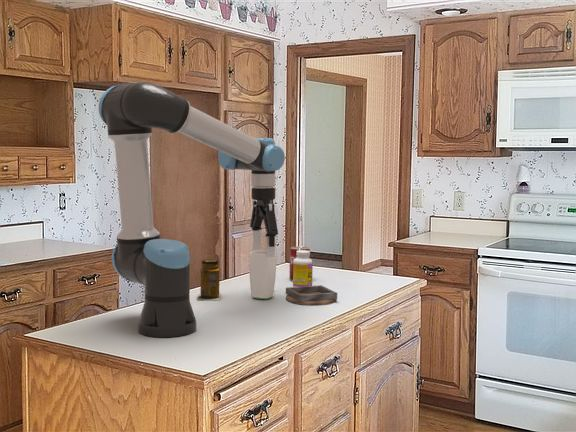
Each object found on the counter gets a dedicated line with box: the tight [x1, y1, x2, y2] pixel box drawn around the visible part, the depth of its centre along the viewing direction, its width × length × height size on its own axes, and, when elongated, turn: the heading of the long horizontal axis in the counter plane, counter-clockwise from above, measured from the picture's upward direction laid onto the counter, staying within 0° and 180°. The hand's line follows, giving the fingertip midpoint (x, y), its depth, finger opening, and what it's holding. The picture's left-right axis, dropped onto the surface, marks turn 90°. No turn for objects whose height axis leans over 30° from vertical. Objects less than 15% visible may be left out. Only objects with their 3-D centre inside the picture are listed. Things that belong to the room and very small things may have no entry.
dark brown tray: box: [285, 284, 338, 306], centre depth 217 cm, size 16×16×3 cm
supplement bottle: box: [292, 250, 314, 287], centre depth 233 cm, size 7×7×13 cm
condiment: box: [196, 258, 222, 301], centre depth 218 cm, size 7×8×12 cm
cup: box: [248, 249, 277, 300], centre depth 218 cm, size 7×7×15 cm
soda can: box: [288, 245, 311, 282], centre depth 247 cm, size 7×7×12 cm
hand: (263, 253), depth 217 cm, fingers open, 13 cm apart
